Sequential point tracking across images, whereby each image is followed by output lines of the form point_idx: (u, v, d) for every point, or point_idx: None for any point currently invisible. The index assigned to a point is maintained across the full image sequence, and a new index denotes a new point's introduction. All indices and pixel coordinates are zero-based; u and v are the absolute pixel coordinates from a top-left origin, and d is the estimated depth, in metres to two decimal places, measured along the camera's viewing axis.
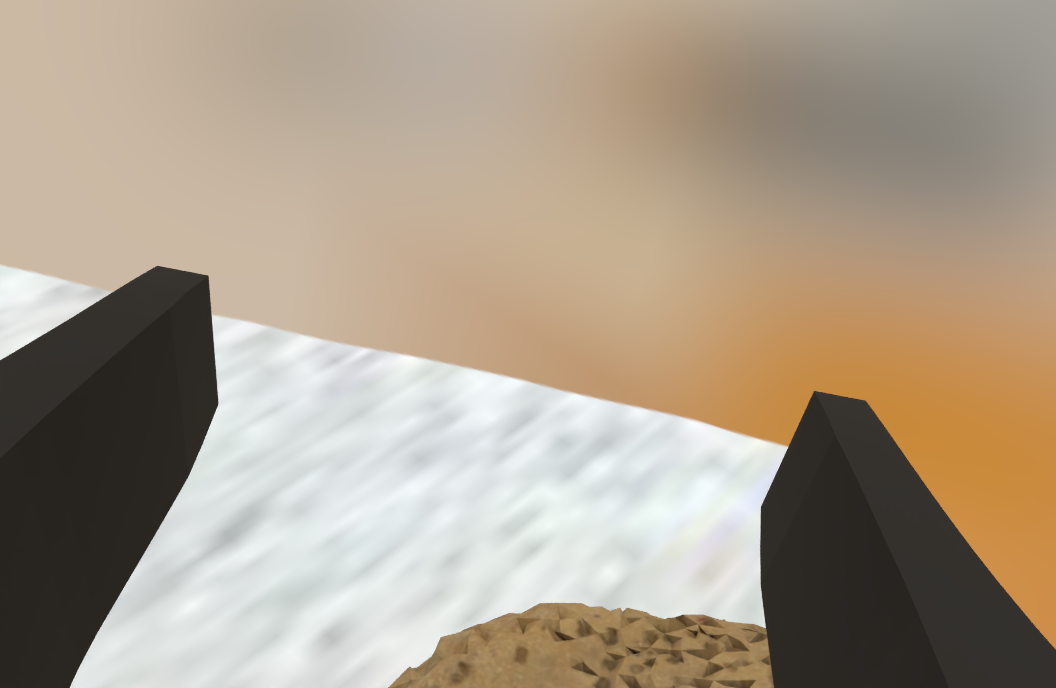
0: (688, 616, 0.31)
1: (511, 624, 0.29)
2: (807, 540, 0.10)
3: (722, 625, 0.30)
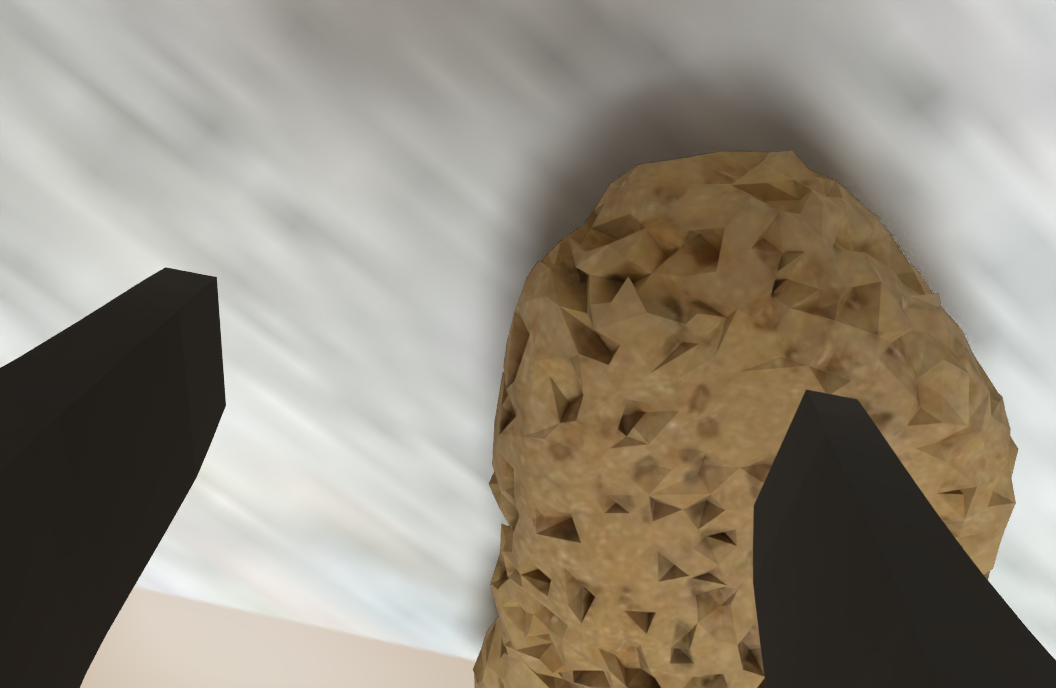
0: None
1: (962, 480, 0.17)
2: (798, 539, 0.10)
3: None
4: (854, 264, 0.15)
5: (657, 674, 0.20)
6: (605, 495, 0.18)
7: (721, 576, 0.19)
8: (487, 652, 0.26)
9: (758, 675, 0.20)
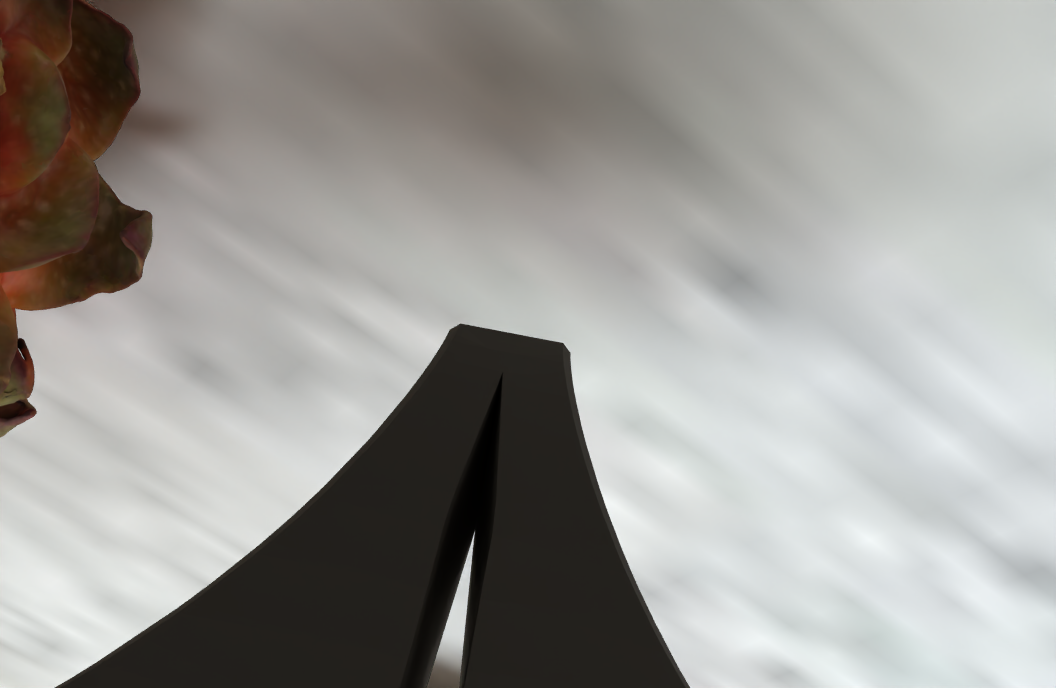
0: None
1: None
2: (486, 479, 0.10)
3: None
4: None
5: None
6: None
7: None
8: None
9: None
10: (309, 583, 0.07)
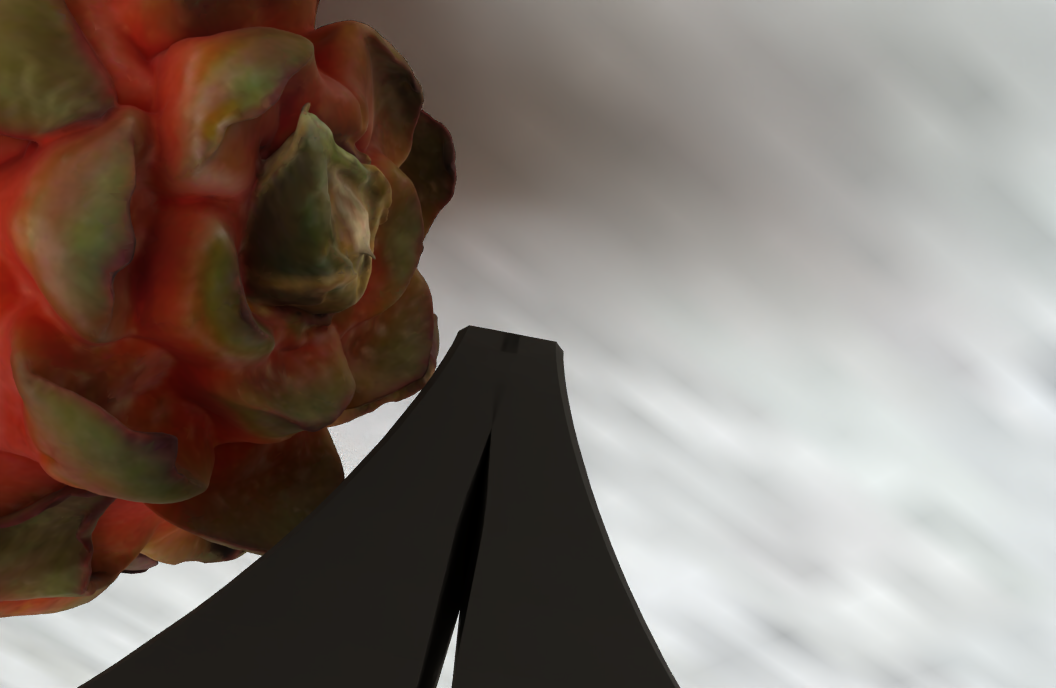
0: None
1: None
2: None
3: None
4: None
5: None
6: None
7: None
8: None
9: None
10: (323, 586, 0.07)
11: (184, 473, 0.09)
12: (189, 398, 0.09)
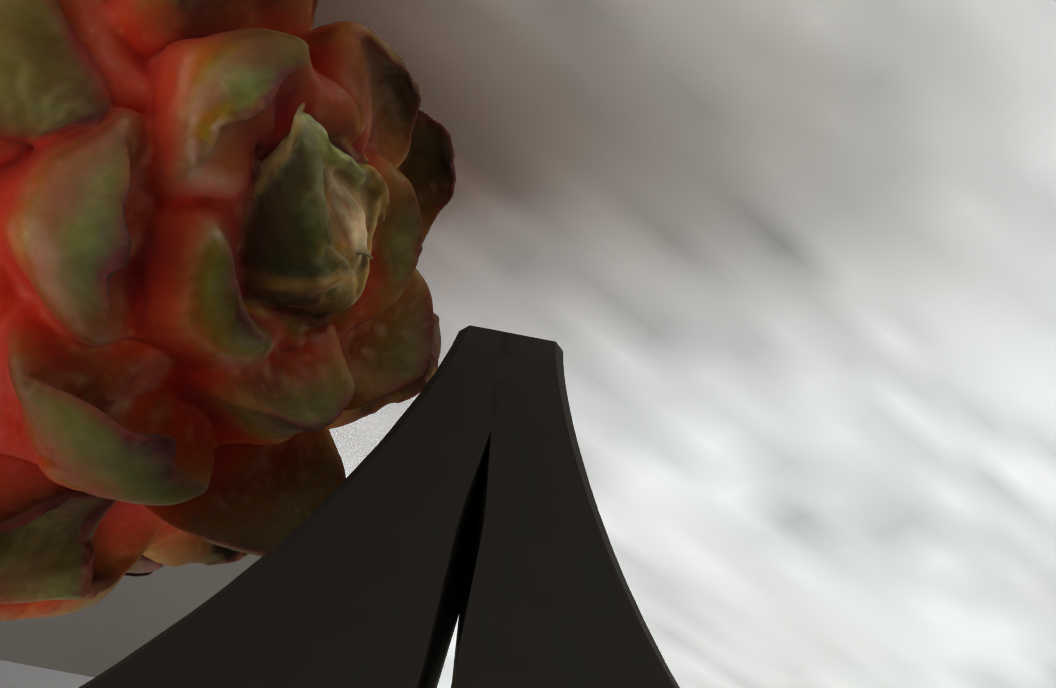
0: None
1: None
2: None
3: None
4: None
5: None
6: None
7: None
8: None
9: None
10: (323, 584, 0.07)
11: (183, 475, 0.09)
12: (187, 400, 0.09)
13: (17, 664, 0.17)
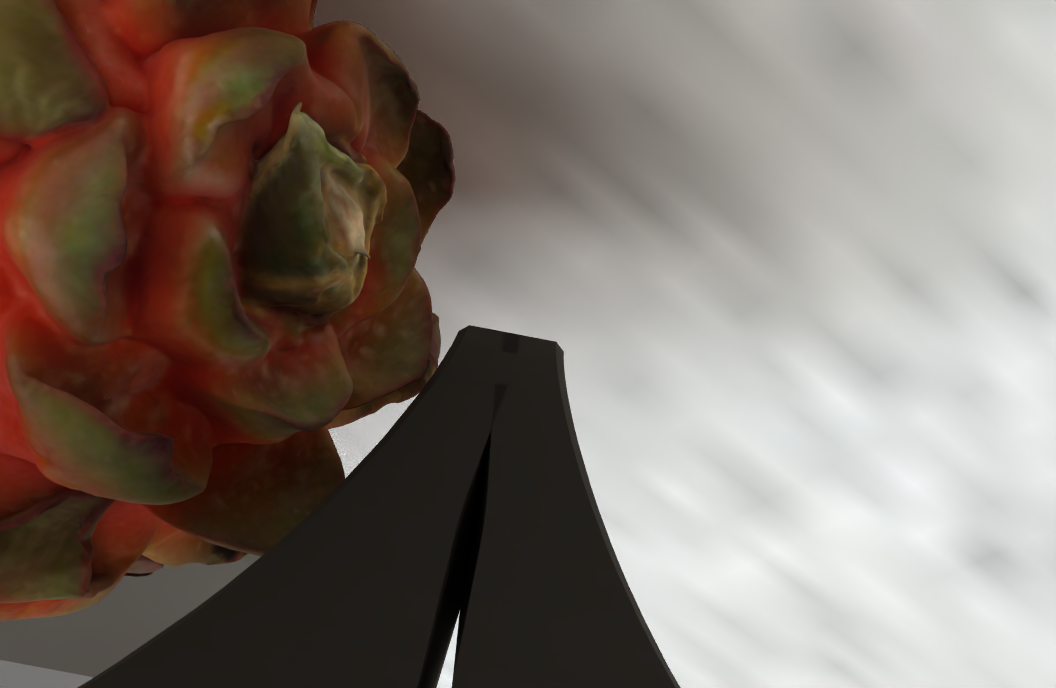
0: None
1: None
2: None
3: None
4: None
5: None
6: None
7: None
8: None
9: None
10: (323, 586, 0.07)
11: (181, 474, 0.09)
12: (185, 399, 0.09)
13: None
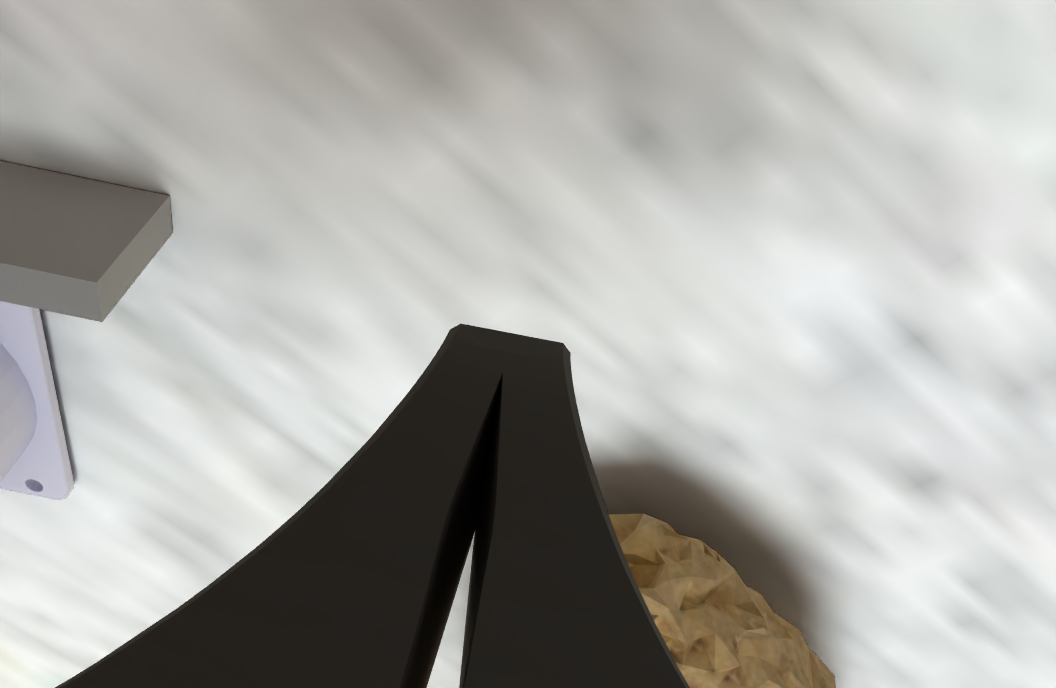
0: None
1: None
2: (486, 479, 0.10)
3: None
4: (695, 621, 0.22)
5: None
6: None
7: None
8: None
9: None
10: (309, 583, 0.07)
11: None
12: None
13: None
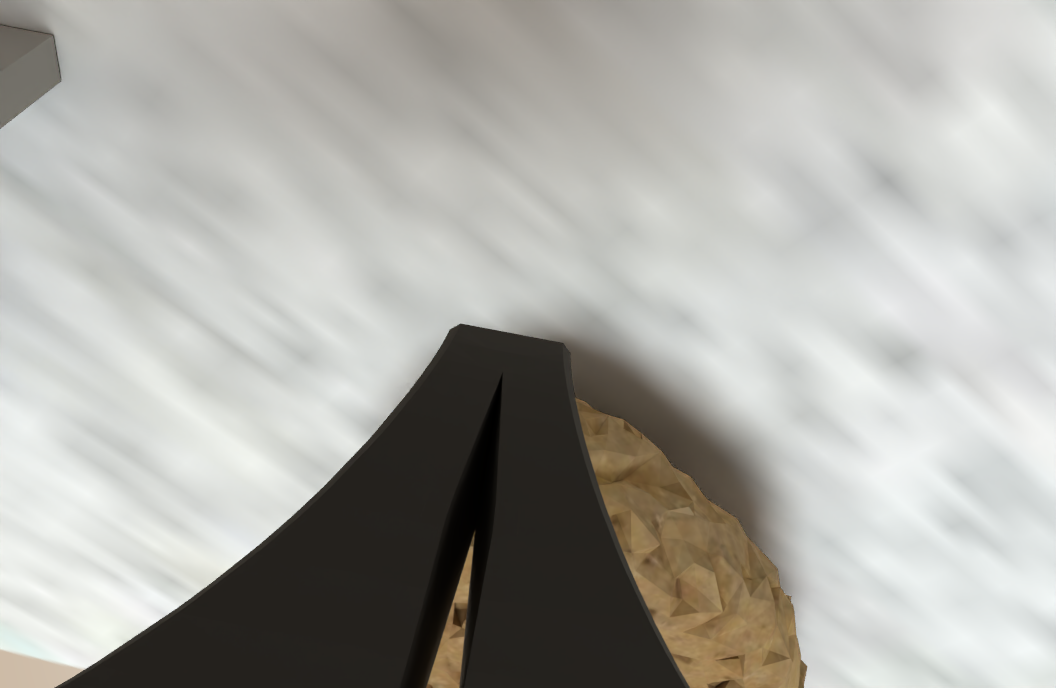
0: None
1: (730, 651, 0.21)
2: (486, 479, 0.10)
3: None
4: (608, 497, 0.19)
5: None
6: (455, 671, 0.22)
7: None
8: None
9: None
10: (309, 581, 0.07)
11: None
12: None
13: None
